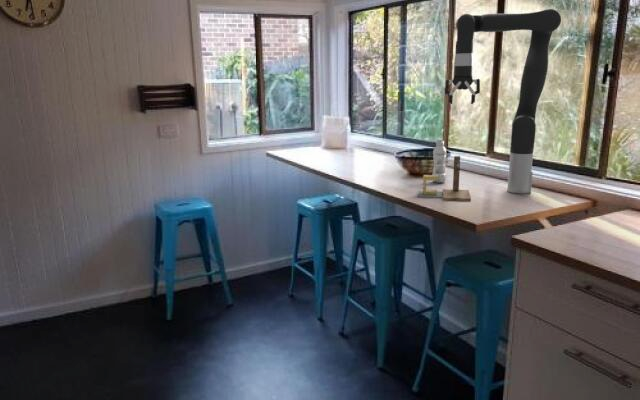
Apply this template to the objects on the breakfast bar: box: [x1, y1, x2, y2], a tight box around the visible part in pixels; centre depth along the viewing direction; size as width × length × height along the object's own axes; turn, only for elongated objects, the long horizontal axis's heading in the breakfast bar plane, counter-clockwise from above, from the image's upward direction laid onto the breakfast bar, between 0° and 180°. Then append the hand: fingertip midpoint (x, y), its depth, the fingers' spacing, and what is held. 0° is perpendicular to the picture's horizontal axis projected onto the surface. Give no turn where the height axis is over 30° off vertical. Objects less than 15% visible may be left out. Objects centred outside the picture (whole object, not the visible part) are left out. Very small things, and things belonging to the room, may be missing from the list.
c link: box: [422, 174, 438, 195], centre depth 219 cm, size 6×4×8 cm, turn 77°
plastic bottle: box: [431, 140, 447, 184], centre depth 240 cm, size 6×7×20 cm
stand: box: [442, 155, 472, 202], centre depth 214 cm, size 11×15×16 cm
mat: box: [417, 190, 443, 199], centre depth 220 cm, size 10×10×1 cm
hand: (461, 104), depth 216 cm, fingers open, 8 cm apart
